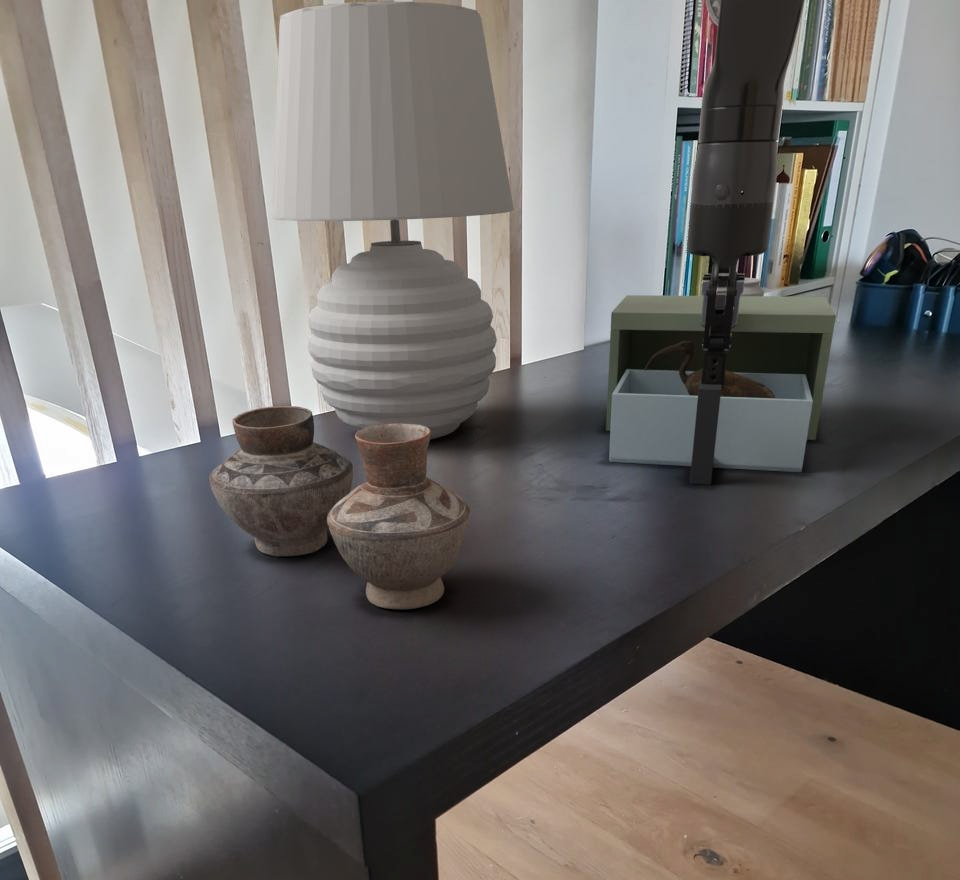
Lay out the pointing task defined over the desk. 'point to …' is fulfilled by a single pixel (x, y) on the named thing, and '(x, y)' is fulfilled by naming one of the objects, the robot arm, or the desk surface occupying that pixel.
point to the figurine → (732, 382)
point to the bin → (709, 424)
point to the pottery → (345, 502)
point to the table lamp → (392, 200)
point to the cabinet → (755, 339)
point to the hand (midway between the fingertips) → (712, 383)
